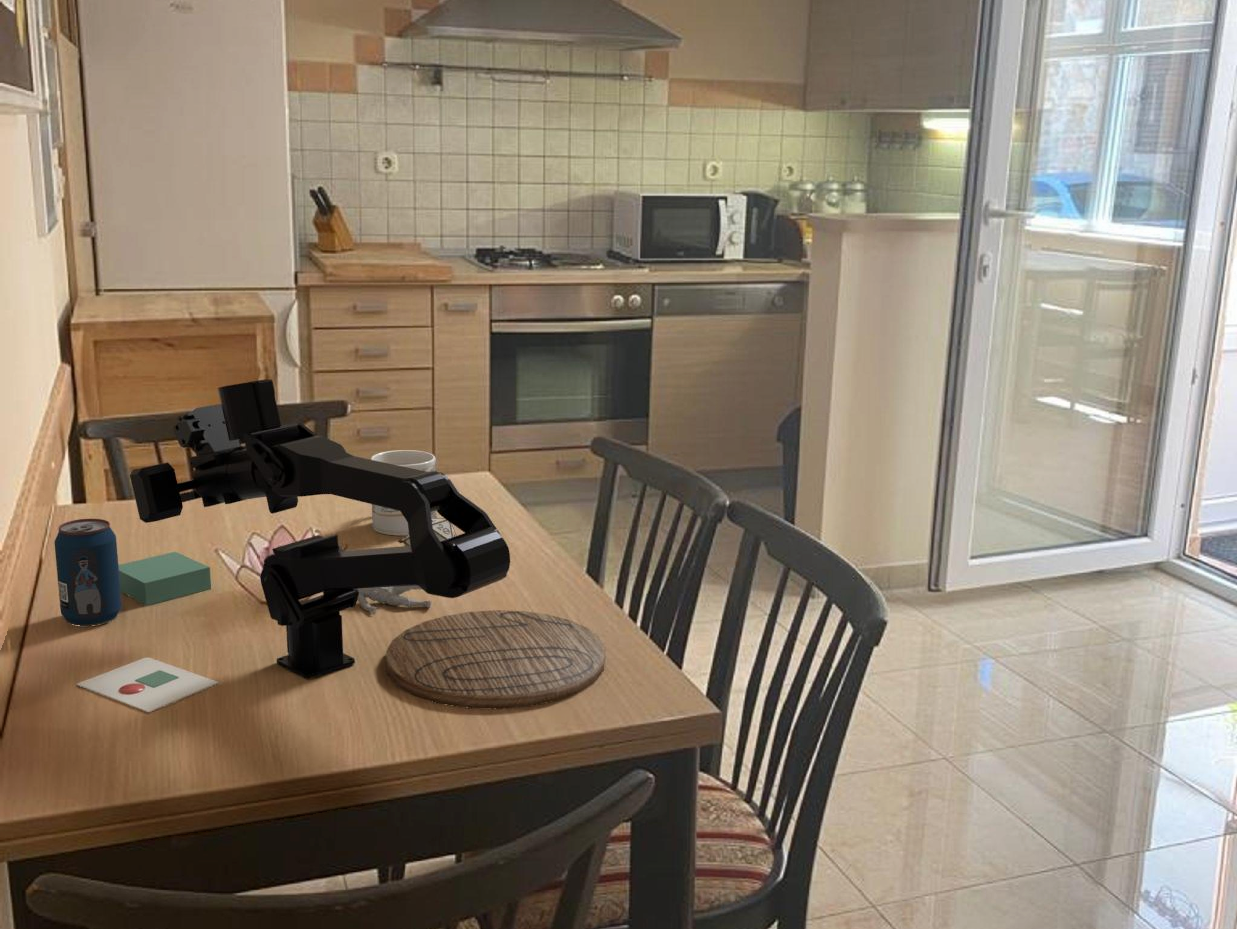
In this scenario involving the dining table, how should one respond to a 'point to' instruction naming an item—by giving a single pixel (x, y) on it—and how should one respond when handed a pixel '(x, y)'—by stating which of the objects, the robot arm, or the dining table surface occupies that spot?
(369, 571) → the robot arm
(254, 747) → the dining table surface
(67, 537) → the soda can
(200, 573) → the base brick
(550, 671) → the trivet
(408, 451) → the mug
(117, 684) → the page
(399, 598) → the soldier figure
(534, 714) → the dining table surface
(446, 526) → the game die
